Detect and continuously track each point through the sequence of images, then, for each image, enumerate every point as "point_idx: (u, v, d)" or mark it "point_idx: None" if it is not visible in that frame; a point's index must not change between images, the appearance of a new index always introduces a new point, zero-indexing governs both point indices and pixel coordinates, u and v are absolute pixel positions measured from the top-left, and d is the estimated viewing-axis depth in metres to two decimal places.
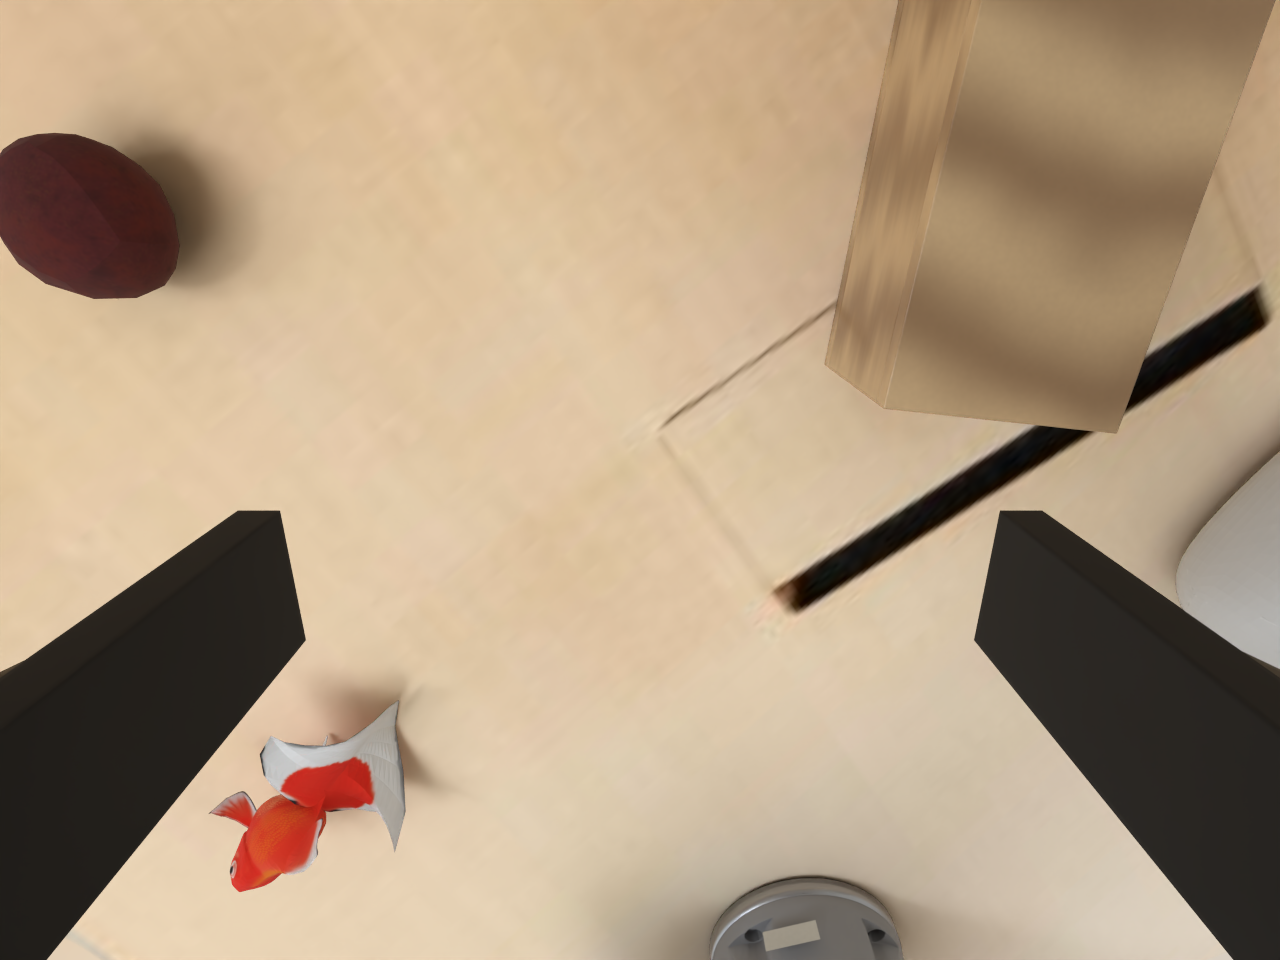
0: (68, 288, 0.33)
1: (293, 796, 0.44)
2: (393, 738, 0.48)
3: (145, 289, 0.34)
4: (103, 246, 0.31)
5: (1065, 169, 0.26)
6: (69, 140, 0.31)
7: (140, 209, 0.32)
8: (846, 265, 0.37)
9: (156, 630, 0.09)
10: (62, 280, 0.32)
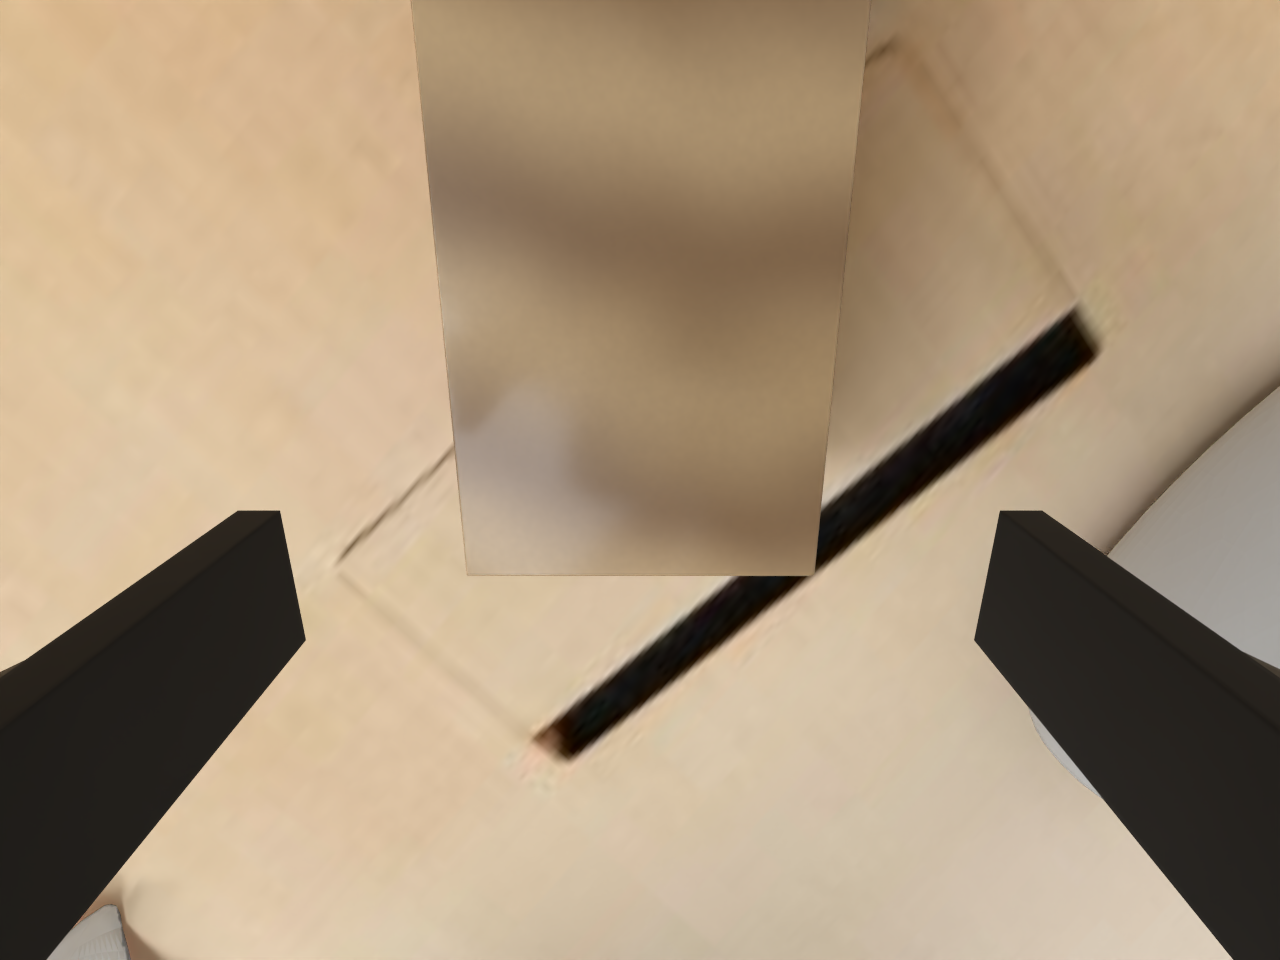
0: None
1: None
2: (119, 943, 0.40)
3: None
4: None
5: (623, 218, 0.17)
6: None
7: None
8: None
9: (156, 630, 0.09)
10: None
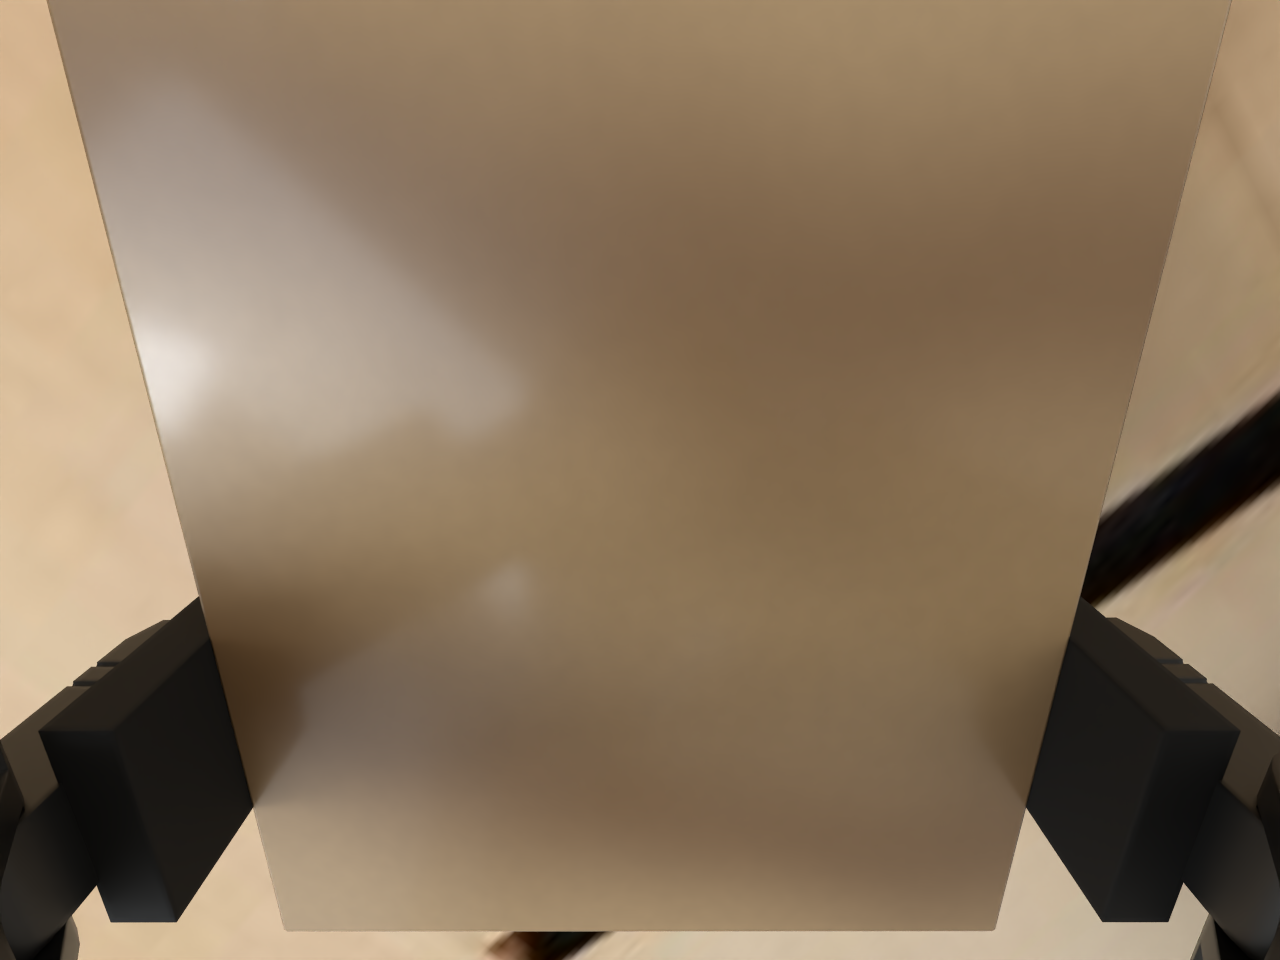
0: None
1: None
2: None
3: None
4: None
5: (594, 192, 0.07)
6: None
7: None
8: None
9: None
10: None
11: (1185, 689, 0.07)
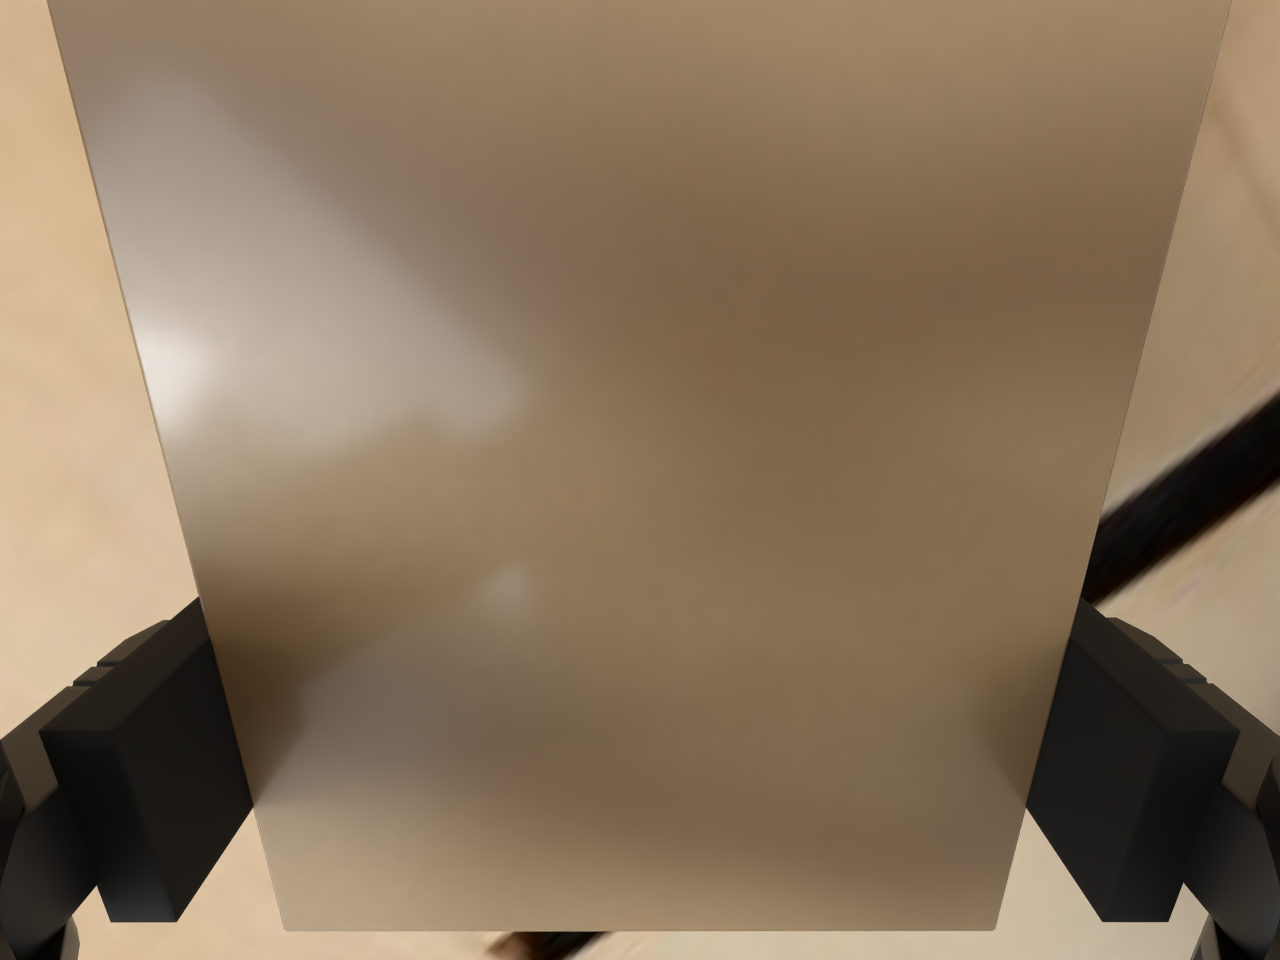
0: None
1: None
2: None
3: None
4: None
5: (593, 192, 0.07)
6: None
7: None
8: None
9: None
10: None
11: (1185, 688, 0.07)
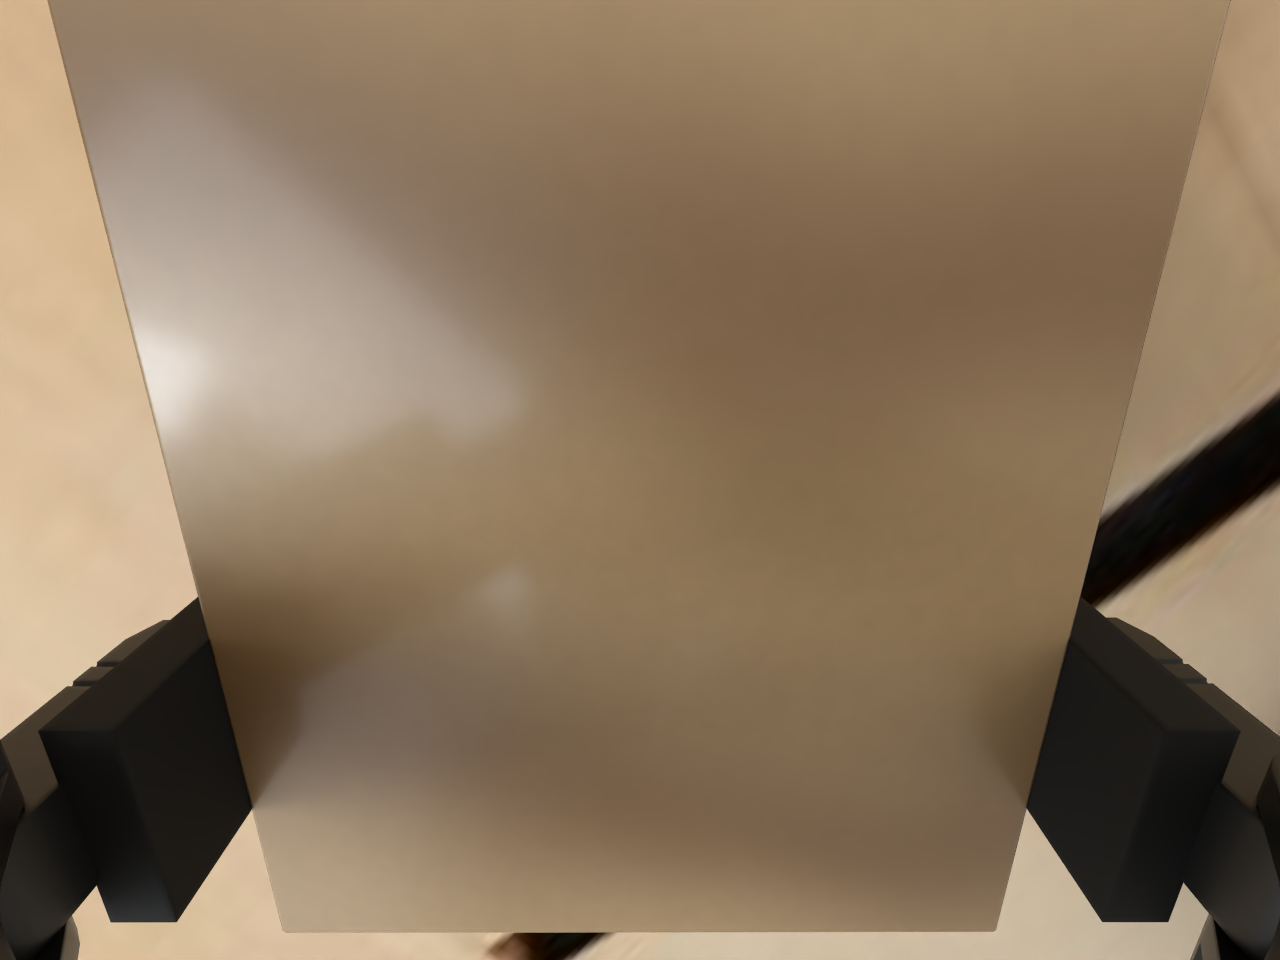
0: None
1: None
2: None
3: None
4: None
5: (594, 190, 0.07)
6: None
7: None
8: None
9: None
10: None
11: (1185, 689, 0.07)
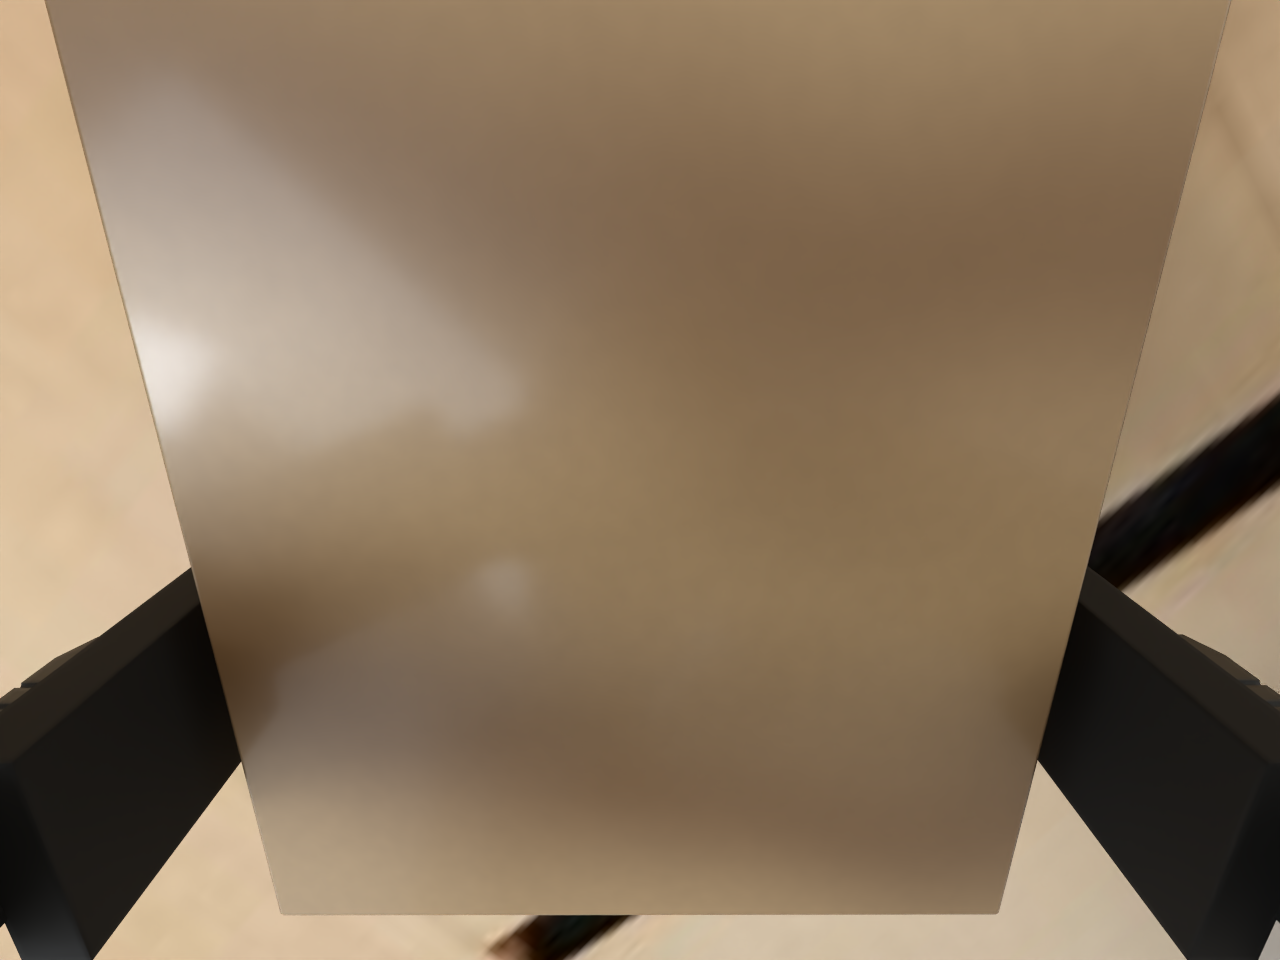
0: None
1: None
2: None
3: None
4: None
5: (591, 155, 0.06)
6: None
7: None
8: None
9: None
10: None
11: (1279, 716, 0.07)
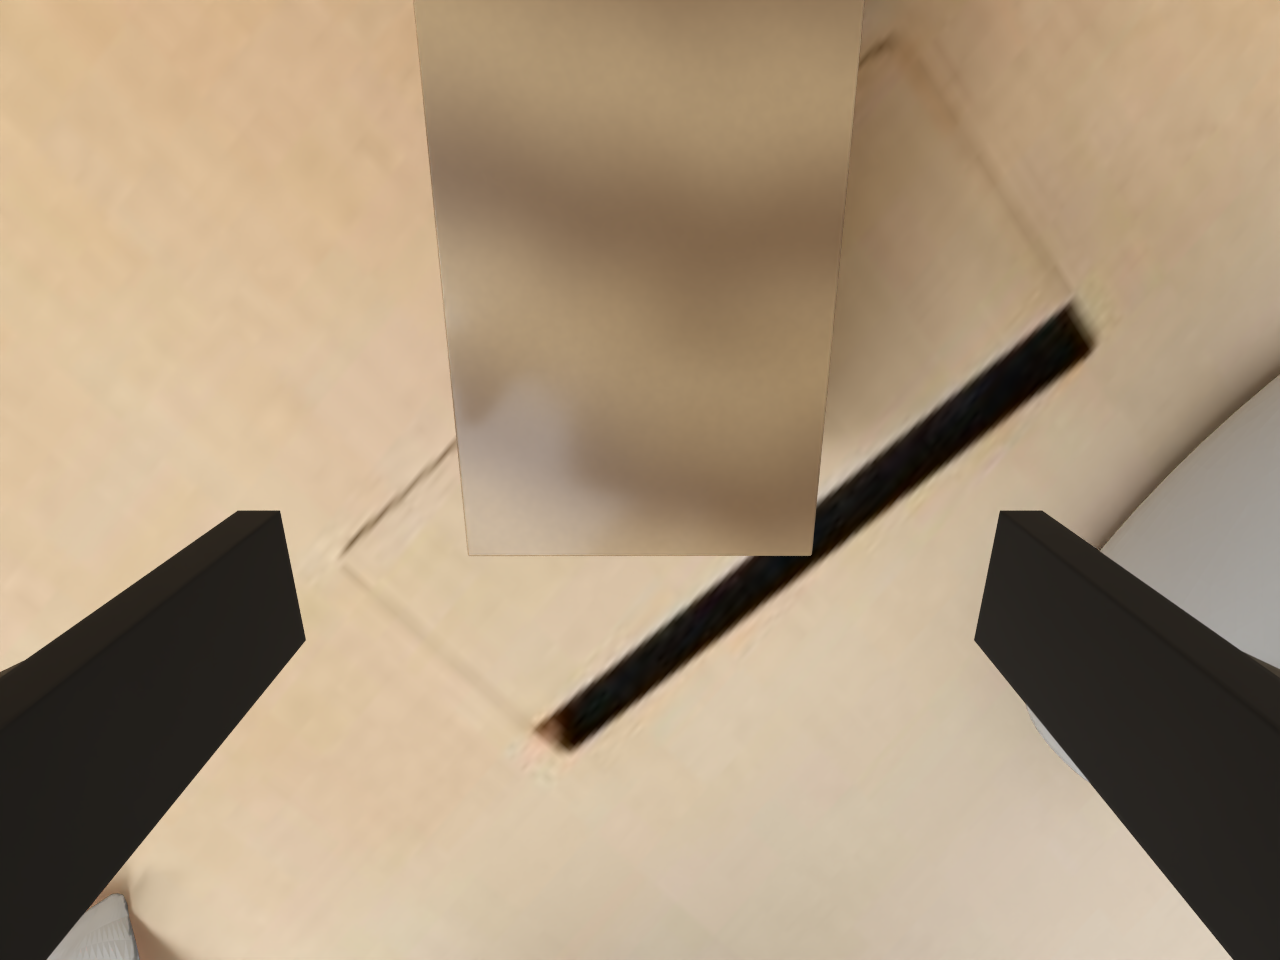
0: None
1: None
2: (126, 932, 0.40)
3: None
4: None
5: (622, 199, 0.17)
6: None
7: None
8: None
9: (156, 630, 0.09)
10: None
11: None
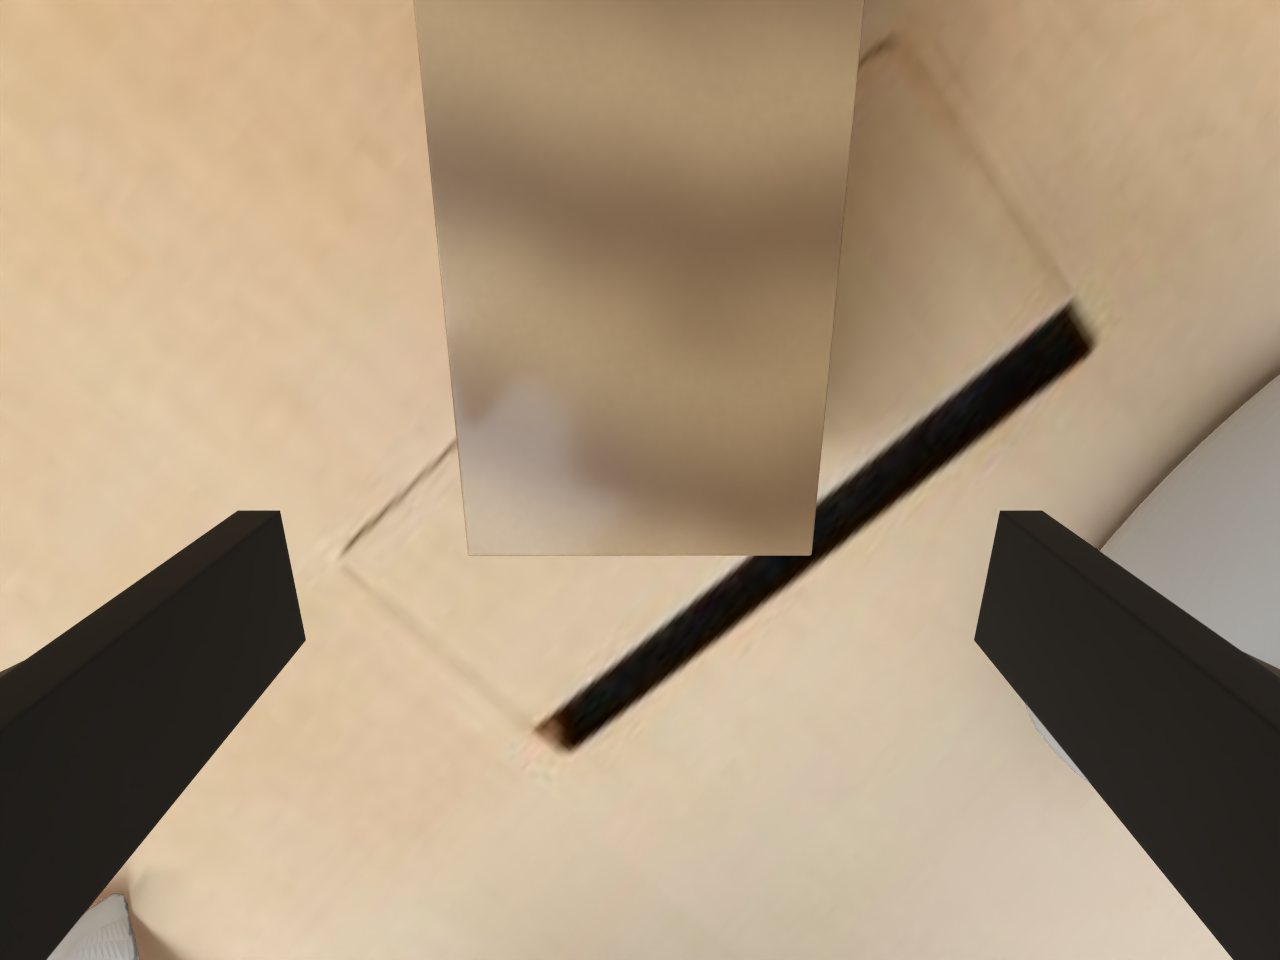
0: None
1: None
2: (126, 932, 0.40)
3: None
4: None
5: (622, 200, 0.17)
6: None
7: None
8: None
9: (156, 630, 0.09)
10: None
11: None
